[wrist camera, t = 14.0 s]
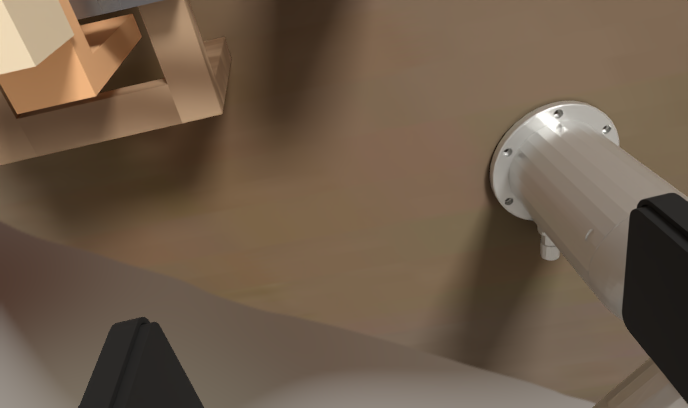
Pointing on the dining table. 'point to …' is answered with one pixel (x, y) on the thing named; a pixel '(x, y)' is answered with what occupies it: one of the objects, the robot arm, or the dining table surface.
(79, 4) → the long charcoal crossbeam
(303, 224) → the dining table surface
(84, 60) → the orange cream legged block
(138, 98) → the shelf
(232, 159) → the dining table surface
